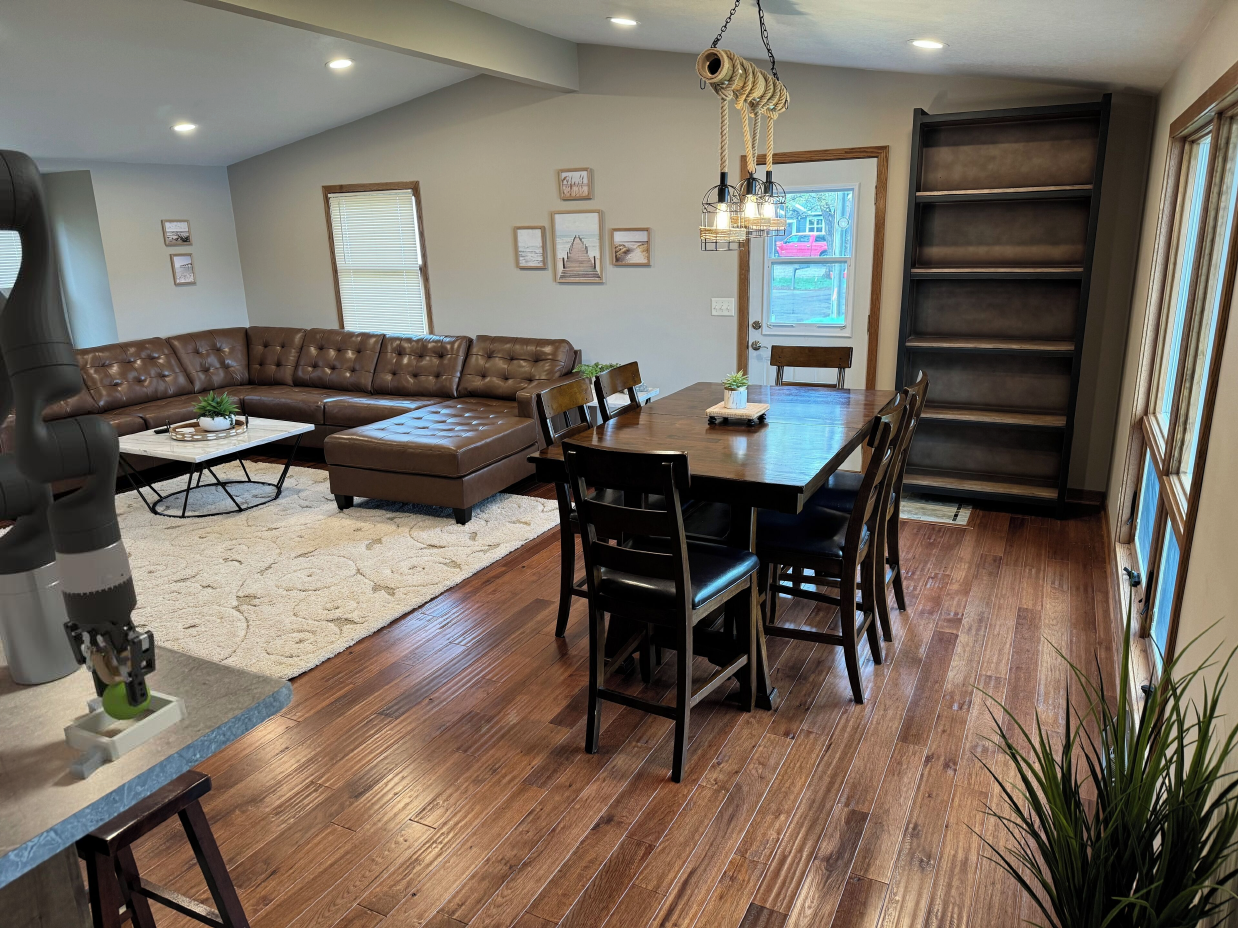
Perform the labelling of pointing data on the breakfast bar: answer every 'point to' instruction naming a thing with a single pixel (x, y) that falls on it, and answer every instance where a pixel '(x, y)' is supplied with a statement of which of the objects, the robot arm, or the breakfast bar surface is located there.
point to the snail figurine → (115, 688)
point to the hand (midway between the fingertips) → (122, 698)
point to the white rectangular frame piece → (112, 749)
